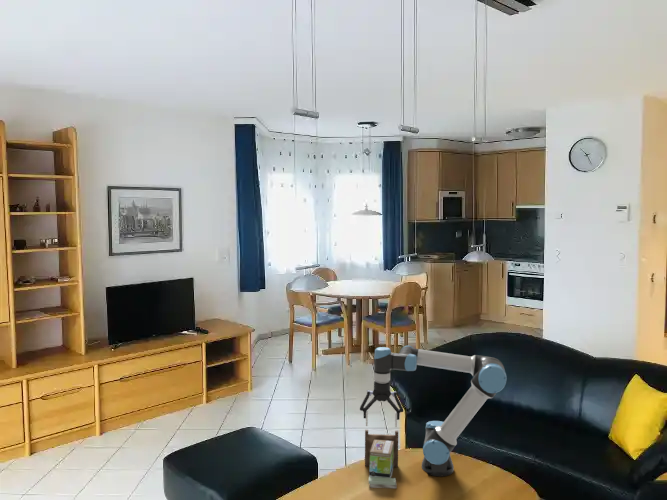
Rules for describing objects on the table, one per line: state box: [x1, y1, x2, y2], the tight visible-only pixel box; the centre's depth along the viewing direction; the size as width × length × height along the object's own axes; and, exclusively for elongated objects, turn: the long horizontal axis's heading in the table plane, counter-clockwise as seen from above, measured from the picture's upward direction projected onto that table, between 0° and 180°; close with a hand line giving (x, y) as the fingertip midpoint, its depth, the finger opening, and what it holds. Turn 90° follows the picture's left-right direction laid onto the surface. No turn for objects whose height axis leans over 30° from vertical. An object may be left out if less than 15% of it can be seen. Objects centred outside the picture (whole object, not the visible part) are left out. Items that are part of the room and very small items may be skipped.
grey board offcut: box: [369, 483, 398, 489], centre depth 249 cm, size 12×4×2 cm, turn 86°
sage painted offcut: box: [368, 476, 397, 485], centre depth 249 cm, size 12×4×2 cm, turn 84°
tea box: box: [368, 439, 394, 478], centre depth 260 cm, size 15×10×15 cm, turn 168°
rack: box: [364, 429, 399, 468], centre depth 269 cm, size 16×2×18 cm, turn 85°
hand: (381, 425), depth 259 cm, fingers open, 13 cm apart
